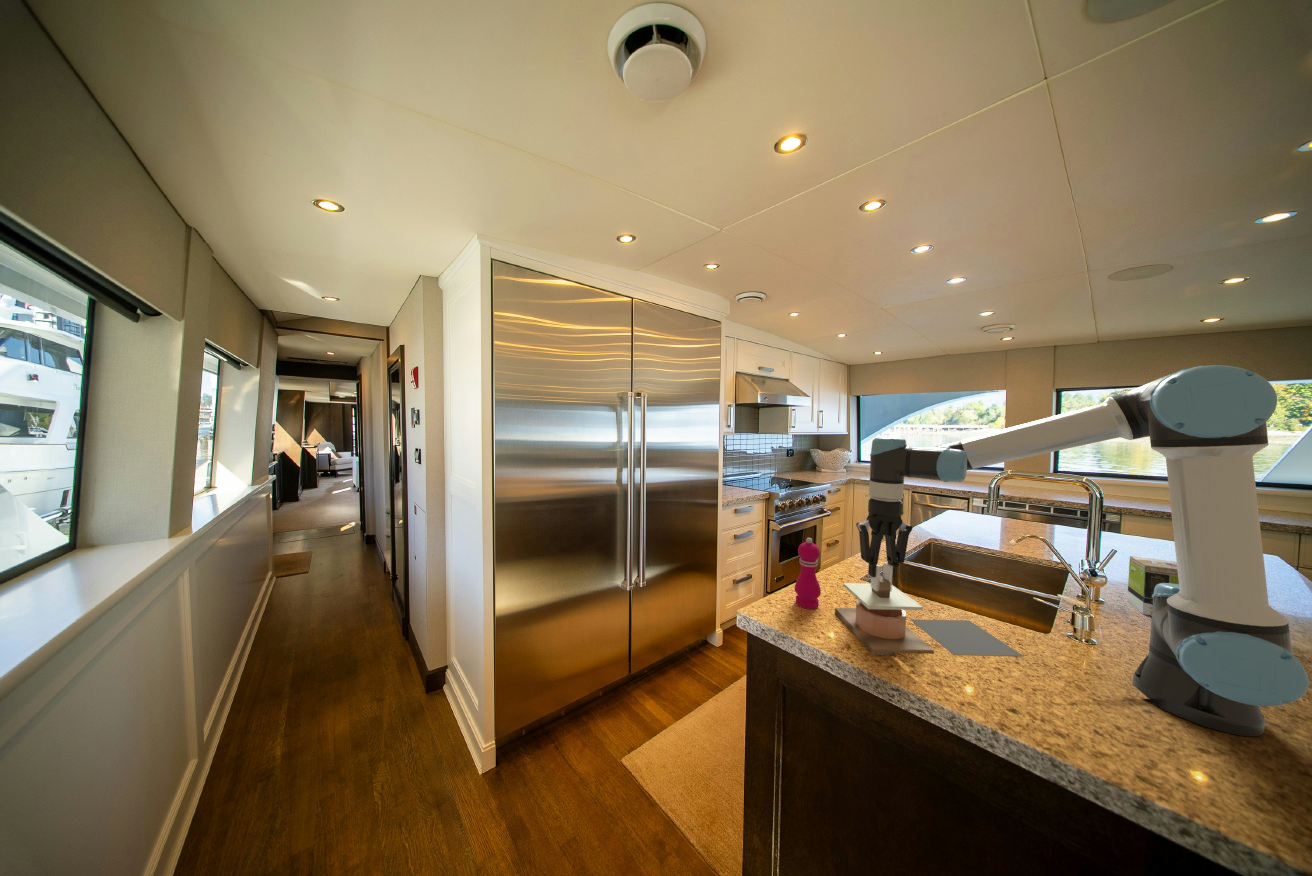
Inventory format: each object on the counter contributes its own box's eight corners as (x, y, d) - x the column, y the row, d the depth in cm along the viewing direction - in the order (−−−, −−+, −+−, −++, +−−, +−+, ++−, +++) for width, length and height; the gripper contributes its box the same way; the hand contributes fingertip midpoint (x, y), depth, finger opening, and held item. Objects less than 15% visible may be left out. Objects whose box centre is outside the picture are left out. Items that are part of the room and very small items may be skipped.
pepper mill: (822, 611, 113) (825, 542, 112) (795, 608, 114) (798, 540, 113) (817, 599, 120) (819, 535, 119) (792, 597, 121) (794, 533, 120)
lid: (922, 610, 95) (923, 590, 95) (868, 609, 95) (869, 589, 95) (890, 586, 108) (891, 569, 108) (843, 585, 108) (844, 568, 108)
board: (933, 656, 92) (933, 649, 92) (873, 655, 92) (873, 648, 92) (884, 613, 112) (884, 608, 112) (834, 612, 112) (835, 607, 112)
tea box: (1202, 615, 114) (1207, 564, 113) (1226, 630, 106) (1231, 576, 105) (1125, 601, 122) (1129, 554, 121) (1141, 614, 114) (1145, 564, 113)
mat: (1023, 660, 91) (1023, 655, 91) (954, 659, 91) (954, 654, 91) (968, 623, 107) (969, 620, 107) (909, 622, 107) (909, 619, 107)
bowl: (914, 638, 96) (915, 619, 96) (869, 638, 96) (870, 618, 96) (888, 616, 107) (889, 598, 107) (848, 615, 107) (848, 597, 107)
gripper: (906, 495, 104) (902, 583, 105) (847, 494, 104) (843, 582, 105) (926, 502, 96) (920, 596, 98) (862, 500, 96) (858, 594, 98)
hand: (880, 588), depth 101 cm, fingers closed on lid, 2 cm apart
